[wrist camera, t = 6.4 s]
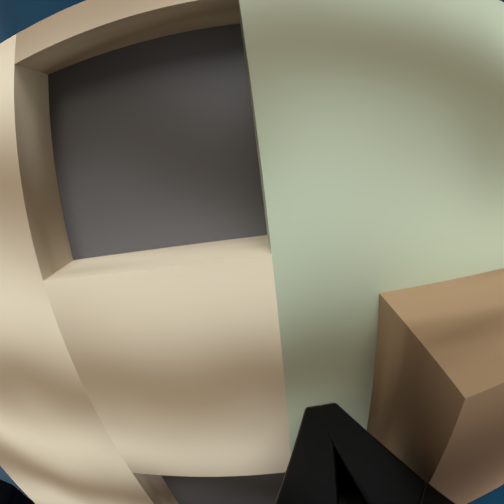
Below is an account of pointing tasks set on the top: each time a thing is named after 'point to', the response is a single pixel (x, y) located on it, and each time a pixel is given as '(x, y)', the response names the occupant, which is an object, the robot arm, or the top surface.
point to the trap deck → (226, 226)
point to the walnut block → (443, 382)
